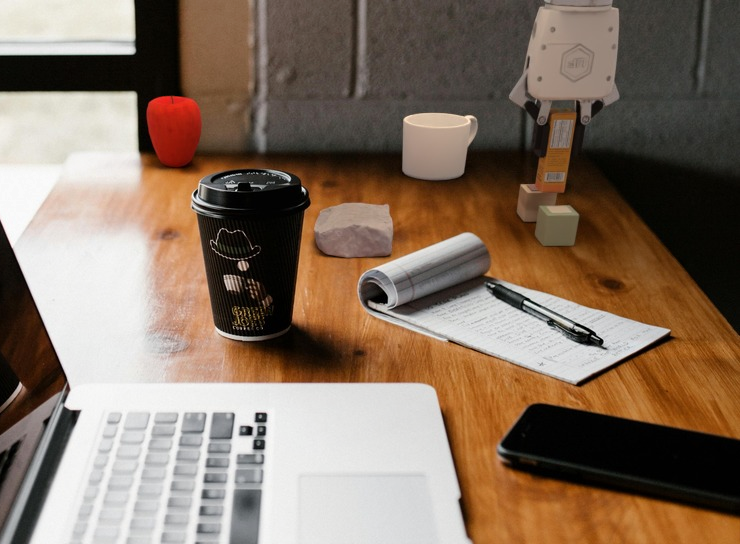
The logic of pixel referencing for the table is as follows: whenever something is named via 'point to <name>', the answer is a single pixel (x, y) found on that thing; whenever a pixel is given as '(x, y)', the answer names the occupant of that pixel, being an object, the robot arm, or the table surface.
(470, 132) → the mug
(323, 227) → the stone block
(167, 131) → the apple
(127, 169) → the table surface
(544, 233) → the near letter block
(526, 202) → the far letter block
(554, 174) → the supplement box
